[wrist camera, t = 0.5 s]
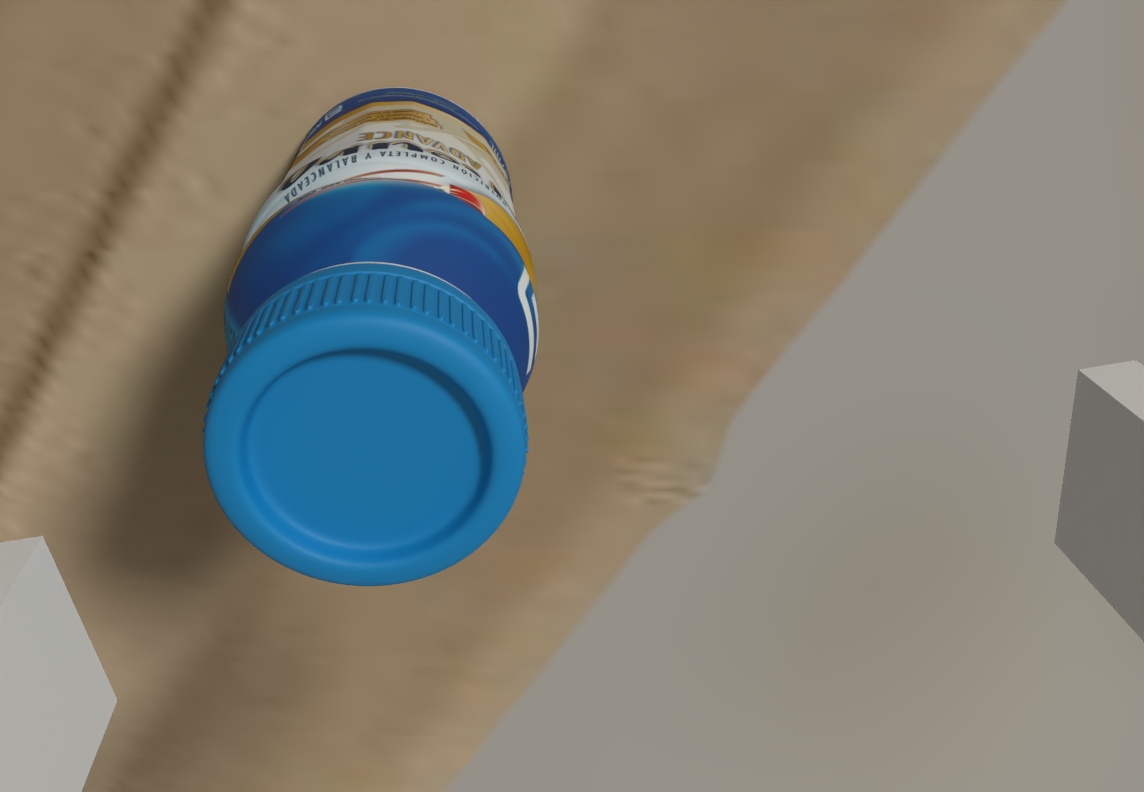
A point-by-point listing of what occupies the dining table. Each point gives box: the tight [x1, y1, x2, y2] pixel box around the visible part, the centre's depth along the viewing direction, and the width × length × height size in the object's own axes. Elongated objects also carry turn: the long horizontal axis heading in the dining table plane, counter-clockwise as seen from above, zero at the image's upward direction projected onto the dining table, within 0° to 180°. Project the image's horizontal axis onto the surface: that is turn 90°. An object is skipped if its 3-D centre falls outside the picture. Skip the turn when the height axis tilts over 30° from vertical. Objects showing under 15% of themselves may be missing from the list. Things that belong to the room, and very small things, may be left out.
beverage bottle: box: [203, 87, 539, 586], centre depth 29 cm, size 8×8×20 cm
